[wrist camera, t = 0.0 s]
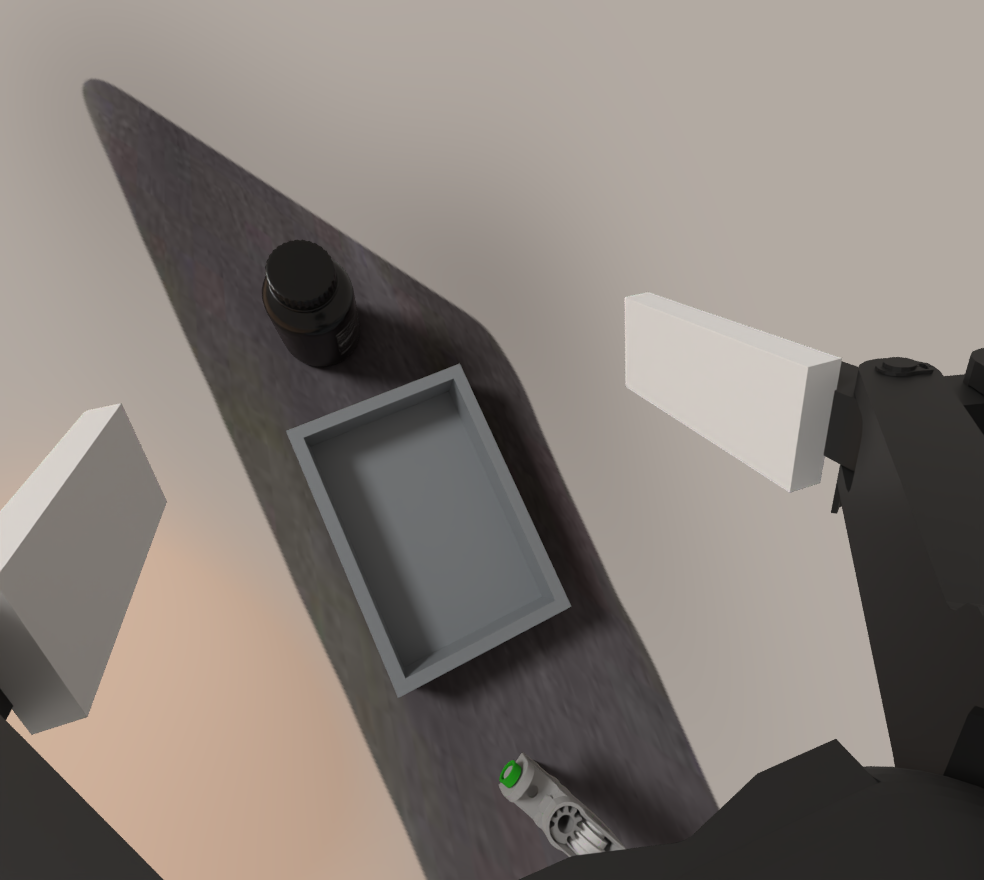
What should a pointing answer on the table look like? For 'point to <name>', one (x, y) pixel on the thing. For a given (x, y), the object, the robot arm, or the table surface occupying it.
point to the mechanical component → (555, 809)
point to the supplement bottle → (311, 303)
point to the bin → (428, 526)
